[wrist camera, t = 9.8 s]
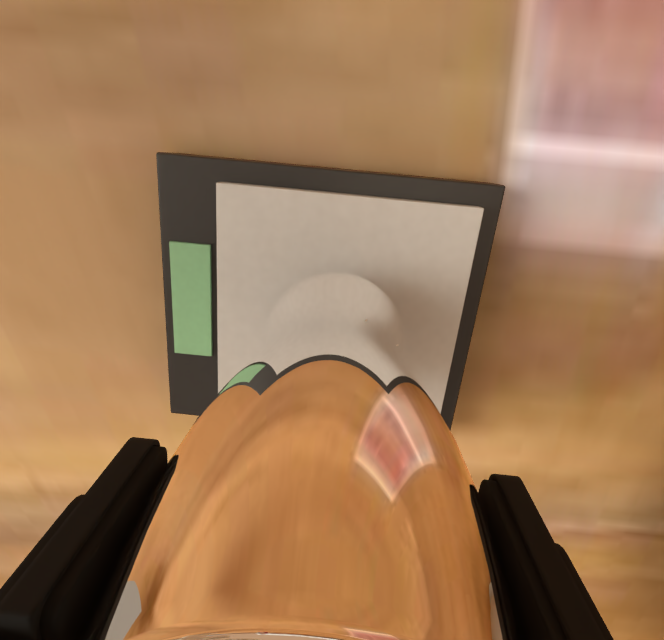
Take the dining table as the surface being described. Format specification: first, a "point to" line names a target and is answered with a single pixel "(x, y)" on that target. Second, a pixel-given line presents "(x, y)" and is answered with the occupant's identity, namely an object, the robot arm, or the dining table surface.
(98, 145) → the dining table surface
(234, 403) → the beer glass
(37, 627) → the robot arm
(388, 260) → the scale
